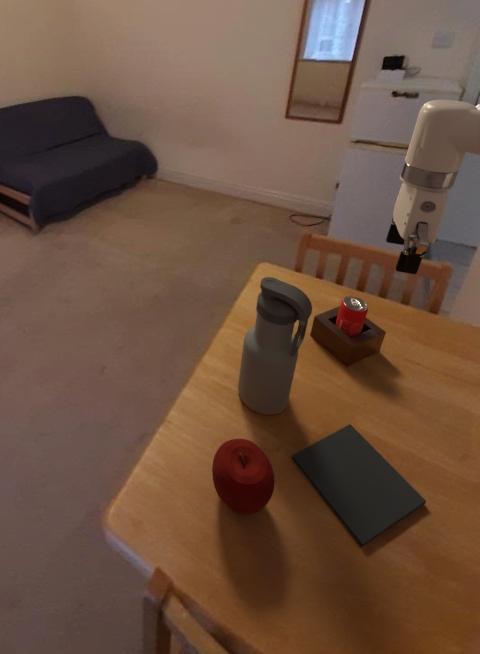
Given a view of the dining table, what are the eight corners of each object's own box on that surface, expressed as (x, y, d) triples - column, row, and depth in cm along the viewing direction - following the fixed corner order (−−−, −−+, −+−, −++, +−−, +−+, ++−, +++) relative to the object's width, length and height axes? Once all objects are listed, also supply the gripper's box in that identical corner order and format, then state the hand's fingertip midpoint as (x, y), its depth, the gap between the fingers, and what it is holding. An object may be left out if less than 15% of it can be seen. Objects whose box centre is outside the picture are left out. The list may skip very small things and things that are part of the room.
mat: (349, 427, 76) (350, 423, 75) (424, 504, 64) (426, 501, 64) (291, 458, 71) (292, 455, 71) (361, 548, 60) (362, 544, 59)
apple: (279, 492, 67) (288, 456, 62) (252, 545, 60) (259, 509, 56) (228, 453, 73) (233, 417, 68) (198, 497, 66) (201, 461, 62)
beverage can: (334, 350, 92) (345, 309, 87) (329, 333, 97) (339, 294, 91) (359, 353, 91) (371, 313, 86) (353, 336, 95) (364, 297, 90)
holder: (341, 321, 100) (346, 303, 97) (379, 351, 91) (386, 332, 89) (310, 335, 96) (314, 316, 94) (346, 367, 88) (352, 347, 85)
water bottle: (296, 391, 83) (321, 284, 71) (279, 428, 76) (303, 316, 64) (249, 366, 89) (264, 263, 76) (229, 398, 82) (242, 290, 70)
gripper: (472, 200, 60) (436, 289, 68) (439, 158, 75) (412, 236, 82) (413, 192, 63) (384, 280, 71) (392, 154, 77) (370, 230, 85)
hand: (399, 256), depth 76 cm, fingers open, 9 cm apart
